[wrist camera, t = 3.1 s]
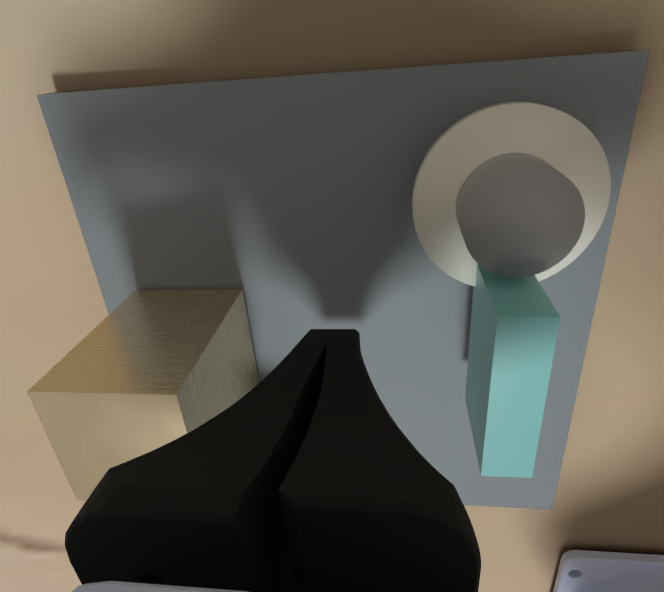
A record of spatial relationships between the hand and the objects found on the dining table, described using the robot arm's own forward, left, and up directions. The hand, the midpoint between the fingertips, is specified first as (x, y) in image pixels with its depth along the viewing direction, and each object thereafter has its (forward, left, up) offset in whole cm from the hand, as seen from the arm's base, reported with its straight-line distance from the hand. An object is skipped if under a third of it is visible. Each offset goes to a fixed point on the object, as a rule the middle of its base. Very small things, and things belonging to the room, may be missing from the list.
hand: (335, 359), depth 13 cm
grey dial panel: (0, 0, -3) cm, 3 cm away
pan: (+2, -4, -1) cm, 5 cm away
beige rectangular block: (-3, +5, -2) cm, 6 cm away
